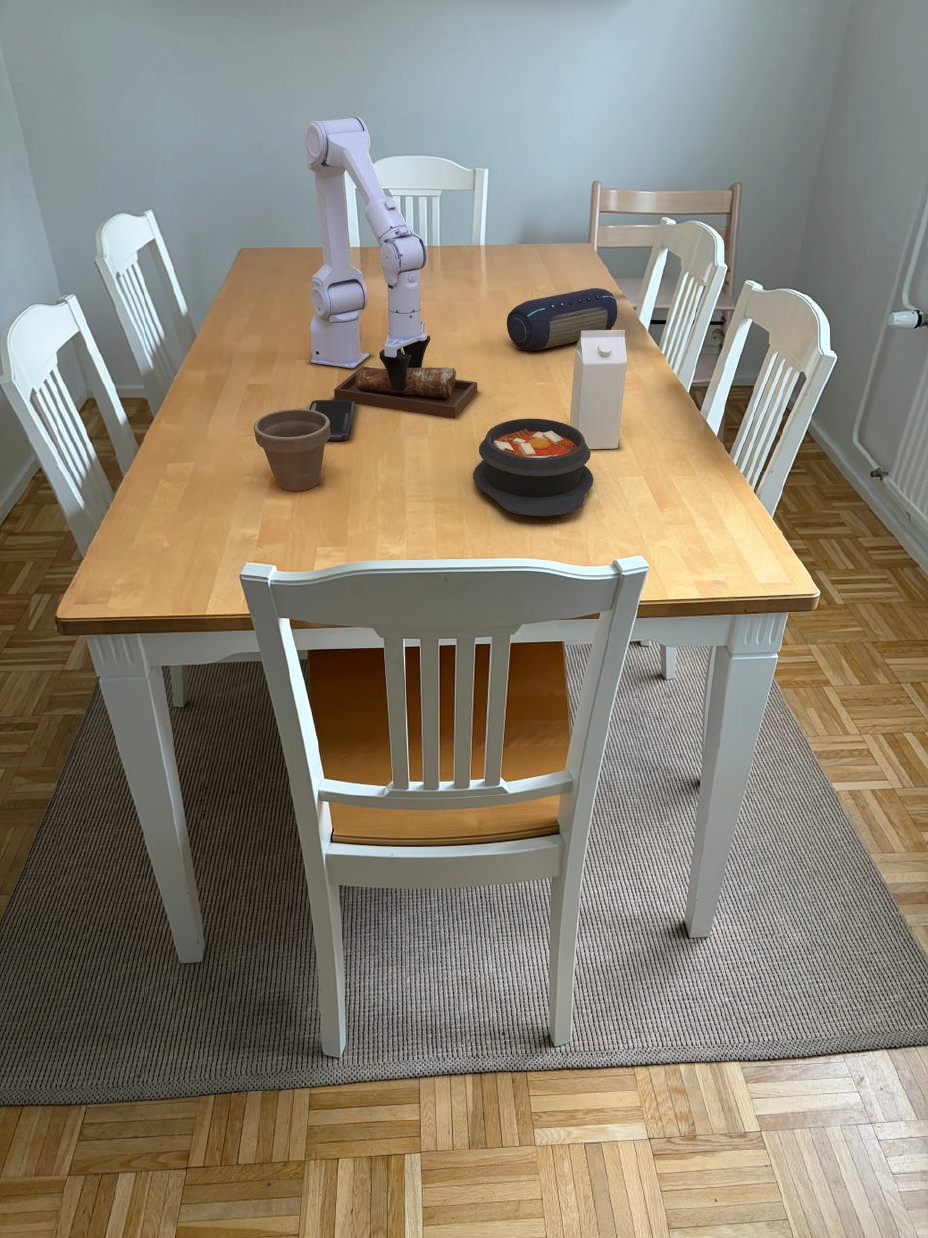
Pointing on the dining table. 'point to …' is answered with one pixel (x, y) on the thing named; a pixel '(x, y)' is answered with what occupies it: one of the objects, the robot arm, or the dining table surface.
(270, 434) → the flower pot
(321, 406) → the phone
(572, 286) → the dining table surface
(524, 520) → the dining table surface
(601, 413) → the milk carton
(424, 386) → the brown cylinder
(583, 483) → the casserole
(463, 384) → the tray
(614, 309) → the portable speaker
